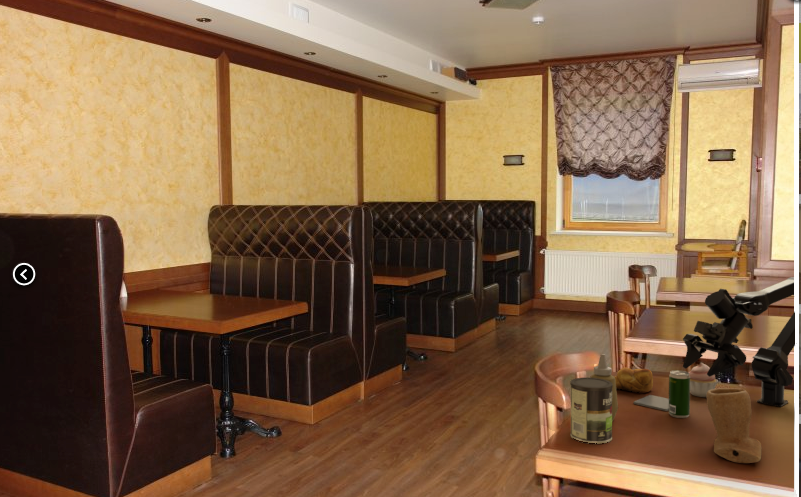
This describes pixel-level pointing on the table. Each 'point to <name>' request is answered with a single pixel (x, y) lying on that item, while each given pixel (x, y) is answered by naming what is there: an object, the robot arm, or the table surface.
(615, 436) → the table surface
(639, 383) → the bread roll
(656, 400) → the coaster
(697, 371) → the cupcake
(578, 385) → the coffee can
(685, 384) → the guarana soda can
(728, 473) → the table surface
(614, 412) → the squeeze bottle
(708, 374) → the robot arm
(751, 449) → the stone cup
